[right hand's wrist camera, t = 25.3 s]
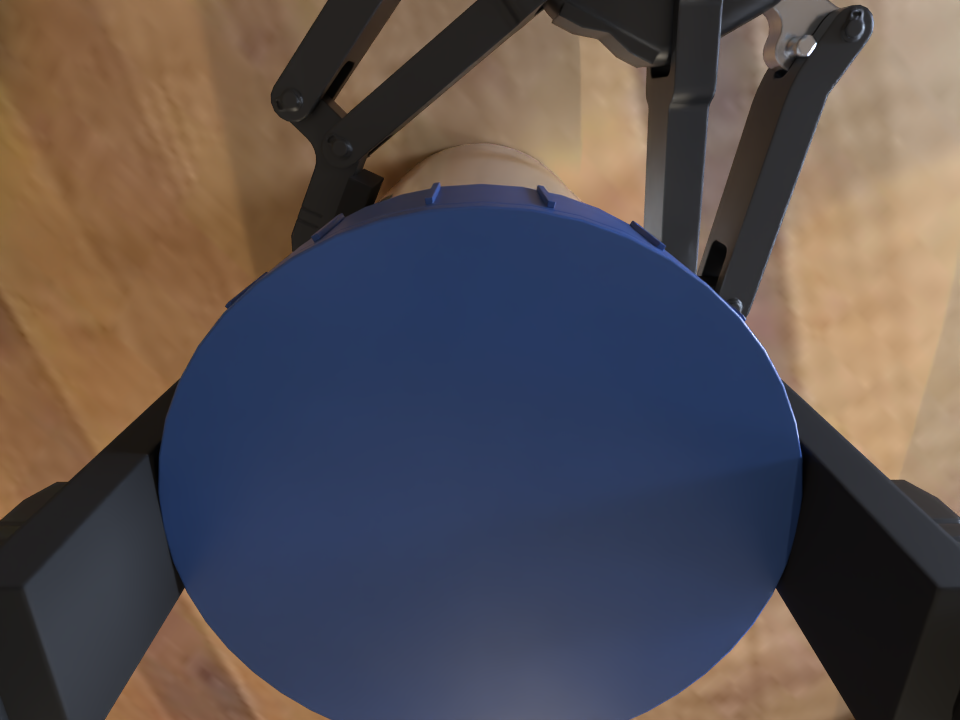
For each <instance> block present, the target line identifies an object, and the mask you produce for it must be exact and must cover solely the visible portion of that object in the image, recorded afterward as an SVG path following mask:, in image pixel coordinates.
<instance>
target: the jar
mask: <svg viewBox="0 0 960 720" xmlns="http://www.w3.org/2000/svg"><path fill="white" fill-rule="evenodd" d="M437 182H440V186H455V185H471V184H491V185H505V186H518V187H526V188H531V189H535V190H537V185H541V186H544V187H545V189H546V190H547V191H548V192H549V193H554V194H559V195H563V196H566V197H568V198H571V199H574V200H577V201H579V202H582V201H581V200H580V199H579V198H578V197H577V196H576V195H575V194H574V193H573V192H572V191H571V190H570V189H569V188H568V187H567V186H566V185H565V184H564V183H563V182H562V181H561V180H560V179H559V178H558V177H557V176H556V175H555V174H554V173H553V172H552V171H551V170H549V169H548V168H547V167H546V166H545V165H543V164H542V163H541V162H539V161H538V160H536V159H534V158H533V157H531V156H530V155H528V154H525V153H523V152H521V151H519V150H516V149H513V148H510V147H506V146H503V145H496V144H489V143H471V144H464V145H458V146H454V147H451V148H447V149H444V150H442V151H440V152H437V153H435V154H433V155H431V156H429V157H428V158H426V159H424V160H423V161H421V162H420V163H418V164H417V165H416V166H415V167H414V168H412V169H411V170H410V171H409V172H408V173H407V174H406V175H405V176H404V177H403V178H402V179H401V180H400V181H399V182H398V183H397V184H396V185H395V186H393V187H392V188H391V189H390V190H389V191H388V192H387V193H386V194H385V195H384V196H383V197H382V198H381V199H380V200H379V201H378V202H381V201H384V200H387V199H390V198H393V197H396V196H399V195H402V194H406V193H411V192H416V191H421V190H426V189H431V187H432V185H433V183H437ZM378 202H377V203H378ZM582 203H583V202H582Z"/></svg>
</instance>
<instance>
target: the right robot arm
mask: <svg viewBox="0 0 960 720" xmlns="http://www.w3.org/2000/svg"><path fill="white" fill-rule="evenodd" d="M179 380H180V379H179ZM179 380H178V381H177V382H176V383H175V384H173V385H172V386H171V387H170V388H169V389H168V390H167V391H166V392H165V393H164V394H163V395H162V396H160V397H159V398H158V399H157V400H156V401H155V402H154V403H153V404H152V405H151V406H150V407H149V408H148V409H146V410H145V411H144V412H143V413H142V414H141V415H140V416H139V417H138V418H137V419H136V420H135V421H133V422H132V423H131V424H130V425H129V426H128V427H127V428H126V429H125V430H124V431H123V432H122V433H121V434H119V435H118V436H117V437H116V438H115V439H114V440H113V441H112V442H111V443H110V444H109V445H108V446H106V447H105V448H104V449H103V450H102V451H101V452H100V453H99V454H98V455H97V456H96V457H95V458H94V459H92V460H91V461H90V462H89V463H88V464H87V465H86V466H85V467H84V468H83V469H82V470H81V471H79V472H78V473H77V474H76V475H75V476H74V477H73V478H72V479H71V480H70V481H69V482H56V483H54V484H52V485H51V486H49V487H47V488H45V489H43V490H41V491H40V492H38V493H36V494H34V495H32V496H30V497H29V498H27V499H25V500H23V501H22V502H21V503H20V504H19V505H17V506H16V507H15V508H14V509H13V510H12V511H11V512H9V513H8V514H7V515H6V516H5V517H4V518H3V519H1V520H0V720H105V718H106V717H107V715H108V713H109V712H110V710H111V708H112V707H113V705H114V704H115V702H116V700H117V699H118V697H119V695H120V694H121V692H122V690H123V689H124V687H125V685H126V684H127V682H128V680H129V679H130V677H131V675H132V674H133V672H134V671H135V669H136V667H137V666H138V664H139V662H140V661H141V659H142V657H143V656H144V654H145V652H146V651H147V649H148V647H149V646H150V644H151V642H152V641H153V639H154V638H155V636H156V634H157V633H158V631H159V629H160V628H161V626H162V624H163V623H164V621H165V619H166V618H167V616H168V614H169V613H170V611H171V610H172V608H173V606H174V605H175V603H176V601H177V600H178V598H179V596H180V595H181V593H182V591H183V590H184V588H185V586H184V584H183V582H182V580H181V578H180V576H179V573H178V571H177V569H176V567H175V565H174V563H173V560H172V557H171V553H170V550H169V546H168V543H167V539H166V534H165V530H164V526H163V521H162V516H161V510H160V502H159V495H158V474H159V452H160V446H161V441H162V435H163V430H164V424H165V419H166V416H167V413H168V410H169V407H170V404H171V401H172V399H173V396H174V393H175V390H176V387H177V385H178V382H179ZM781 380H782V379H781ZM782 382H783V384H784V387H785V390H786V393H787V396H788V399H789V402H790V405H791V408H792V411H793V414H794V417H795V419H796V424H797V430H798V436H799V442H800V448H801V454H802V486H803V496H802V503H801V509H800V514H799V519H798V524H797V528H796V533H795V537H794V541H793V545H792V549H791V552H790V556H789V559H788V562H787V565H786V567H785V569H784V571H783V573H782V575H781V578H780V580H779V582H778V584H777V586H776V589H777V591H778V592H779V594H780V596H781V597H782V599H783V601H784V602H785V604H786V606H787V607H788V609H789V610H790V612H791V614H792V615H793V617H794V619H795V620H796V622H797V624H798V625H799V627H800V629H801V630H802V632H803V634H804V635H805V637H806V639H807V640H808V642H809V643H810V645H811V647H812V648H813V650H814V652H815V653H816V655H817V657H818V658H819V660H820V662H821V663H822V665H823V667H824V668H825V670H826V672H827V673H828V675H829V676H830V678H831V680H832V681H833V683H834V685H835V686H836V688H837V690H838V691H839V693H840V695H841V696H842V698H843V700H844V701H845V703H846V704H847V706H848V708H849V709H850V711H851V713H852V714H853V716H854V718H855V719H856V720H960V517H959V516H958V515H957V514H955V513H954V512H953V511H952V510H951V509H950V508H949V507H947V506H946V505H945V504H944V503H943V502H942V501H941V500H939V499H938V498H937V497H935V496H933V495H931V494H929V493H927V492H926V491H924V490H922V489H920V488H918V487H916V486H915V485H913V484H911V483H909V482H907V481H905V480H890V479H889V478H887V477H886V476H885V475H884V474H883V473H882V472H881V471H880V470H879V469H878V468H877V467H876V466H874V465H873V464H872V463H871V462H870V461H869V460H868V459H867V458H866V457H865V456H864V455H863V454H862V453H860V452H859V451H858V450H857V449H856V448H855V447H854V446H853V445H852V444H851V443H850V442H849V441H847V440H846V439H845V438H844V437H843V436H842V435H841V434H840V433H839V432H838V431H837V430H836V429H835V428H833V427H832V426H831V425H830V424H829V423H828V422H827V421H826V420H825V419H824V418H823V417H822V416H820V415H819V414H818V413H817V412H816V411H815V410H814V409H813V408H812V407H811V406H810V405H809V404H808V403H806V402H805V401H804V400H803V399H802V398H801V397H800V396H799V395H798V394H797V393H796V392H795V391H793V390H792V389H791V388H790V387H789V386H788V385H787V384H786V383H785V382H784V381H783V380H782Z"/></svg>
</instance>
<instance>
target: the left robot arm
mask: <svg viewBox="0 0 960 720" xmlns="http://www.w3.org/2000/svg"><path fill="white" fill-rule="evenodd" d="M400 1H401V0H328V1H327V3H326V4H325V6H324V7H323V9H322V11H321V12H320V14H319V15H318V17H317V18H316V20H315V22H314V23H313V25H312V26H311V28H310V30H309V31H308V33H307V34H306V36H305V38H304V39H303V41H302V42H301V44H300V46H299V47H298V49H297V50H296V52H295V53H294V55H293V57H292V58H291V60H290V61H289V63H288V65H287V66H286V68H285V69H284V71H283V73H282V74H281V76H280V77H279V79H278V81H277V82H276V84H275V85H274V87H273V90H272V92H271V104H272V106H273V109H274V111H275V112H276V113H277V114H278V115H279V117H280V118H282V119H284V120H286V121H290V122H291V123H292V124H293V125H294V126H295V127H296V128H297V129H298V130H299V131H300V132H301V133H302V134H303V135H304V136H305V137H306V138H307V139H308V140H309V141H310V142H311V144H312V146H313V148H314V150H315V154H316V165H315V169H314V172H313V175H312V178H311V181H310V184H309V186H308V189H307V192H306V195H305V198H304V201H303V204H302V207H301V209H300V212H299V215H298V219H297V221H296V223H295V226H294V229H293V232H292V235H291V238H292V252H294V251H295V250H296V249H297V248H299V247H300V246H301V245H303V244H304V243H306V242H307V241H308V240H310V239H311V236H312V235H313V234H315V233H316V232H317V231H318V230H320V229H321V228H322V227H323V226H325V225H326V224H327V223H328V222H330V221H331V220H332V219H333V218H335V217H336V216H337V215H339V214H341V213H343V215H344V217H347V216H349V215H351V214H353V213H355V212H357V211H359V210H361V209H363V208H364V207H367V206H370V205H373V204H374V202H375V200H376V197H377V195H378V192H379V190H380V187H381V185H382V182H383V179H384V178H383V177H381V176H378V175H376V174H374V173H372V172H370V171H368V170H366V169H363V166H364V164H365V161H366V158H368V157H370V155H371V154H372V153H373V152H374V151H376V150H377V149H378V148H379V147H380V146H381V145H383V144H384V143H385V142H386V141H387V140H389V139H390V138H391V137H392V136H393V135H394V134H396V133H397V132H398V131H399V130H400V129H402V128H403V127H404V126H405V125H406V124H407V123H409V122H410V121H411V120H412V119H413V118H415V117H416V116H417V115H418V114H419V113H420V112H422V111H423V110H424V109H425V108H426V107H428V106H429V105H430V104H431V103H432V102H433V101H435V100H436V99H437V98H438V97H439V96H441V95H442V94H443V93H444V92H445V91H447V90H448V89H449V88H450V87H451V86H452V85H454V84H455V83H456V82H457V81H458V80H460V79H461V78H462V77H463V76H464V75H465V74H467V73H468V72H469V71H470V70H471V69H473V68H474V67H475V66H476V65H477V64H478V63H480V62H481V61H482V60H483V59H484V58H486V57H487V56H488V55H489V54H490V53H491V52H493V51H494V50H495V49H496V48H497V47H499V46H500V45H501V44H502V43H503V42H504V41H506V40H507V39H508V38H509V37H510V36H512V35H513V34H514V33H516V32H517V31H518V30H520V29H521V28H522V27H523V26H524V25H526V24H527V23H528V22H529V21H530V20H532V19H533V18H534V17H535V16H536V15H537V14H539V13H540V12H541V11H542V10H543V9H545V11H546V12H547V13H548V15H549V16H550V17H551V18H552V19H553V21H552V23H553V24H554V25H556V26H558V27H560V28H562V29H564V30H566V31H568V32H570V33H572V34H574V35H580V36H585V37H590V38H595V39H598V40H599V41H600V42H601V43H602V44H603V45H604V46H605V47H607V48H608V49H609V50H610V51H611V52H612V53H613V54H614V55H615V56H616V57H617V58H619V59H621V60H623V61H625V62H626V63H628V64H630V65H632V66H634V67H636V68H639V67H647V76H646V99H647V103H648V108H649V115H648V138H647V162H646V185H645V209H644V229H645V230H646V231H648V232H649V233H650V234H651V235H653V236H654V237H655V238H657V239H658V240H659V241H660V242H662V243H663V244H664V245H666V247H665V250H666V251H667V252H668V253H669V254H671V255H672V256H673V257H674V258H676V259H677V260H678V261H679V262H681V263H682V264H683V265H684V266H686V267H687V268H688V269H689V270H691V271H692V272H693V273H694V274H696V273H697V276H698V277H699V278H700V279H702V280H703V281H704V282H705V283H707V284H708V285H709V286H710V287H711V288H712V289H713V290H714V291H715V292H716V293H717V294H718V295H719V296H720V297H722V298H723V299H724V300H725V301H726V302H728V303H729V304H730V305H731V306H733V307H734V308H735V309H736V310H737V311H739V312H740V313H741V314H742V315H743V316H744V317H745V318H746V317H747V315H748V314H749V312H750V309H751V306H752V303H753V301H754V298H755V295H756V292H757V290H758V287H759V284H760V281H761V279H762V276H763V273H764V270H765V268H766V265H767V262H768V259H769V257H770V254H771V251H772V248H773V246H774V243H775V240H776V237H777V235H778V232H779V229H780V226H781V224H782V221H783V218H784V215H785V212H786V210H787V207H788V204H789V201H790V199H791V196H792V193H793V190H794V188H795V185H796V182H797V179H798V177H799V174H800V171H801V168H802V166H803V163H804V160H805V157H806V155H807V152H808V149H809V146H810V144H811V141H812V138H813V135H814V133H815V130H816V127H817V124H818V122H819V119H820V116H821V113H822V111H823V108H824V105H825V102H826V99H827V97H828V94H829V93H830V92H831V90H832V89H833V88H834V86H835V85H836V83H837V82H838V81H839V79H840V78H841V77H842V75H843V74H844V73H845V71H846V70H847V69H848V67H849V66H850V64H851V63H852V62H853V60H854V59H855V58H856V56H857V55H858V54H859V52H860V51H861V50H862V48H863V47H864V45H865V44H866V43H867V41H868V40H869V38H870V36H871V34H872V32H873V26H874V20H873V16H872V13H871V12H870V11H869V10H868V8H866V7H864V6H861V5H852V6H848V7H844V8H838V7H836V6H835V5H834V4H833V3H831V2H830V1H829V0H477V1H476V2H475V3H474V4H473V5H471V6H470V7H469V8H468V9H467V10H466V11H465V12H463V13H462V14H461V15H460V16H459V17H458V18H457V19H455V20H454V21H453V22H452V23H451V24H450V25H449V26H447V27H446V28H445V29H444V30H443V31H442V32H441V33H439V34H438V35H437V36H436V37H435V38H434V39H433V40H431V41H430V42H429V43H428V44H427V45H426V46H425V47H423V48H422V49H421V50H420V51H419V52H418V53H417V54H415V55H414V56H413V57H412V58H411V59H410V60H409V61H407V62H406V63H405V64H404V65H403V66H402V67H401V68H399V69H398V70H397V71H396V72H395V73H394V74H392V75H391V76H390V77H389V78H388V79H387V80H386V81H384V82H383V83H382V84H381V85H380V86H379V87H378V88H376V89H375V90H374V91H373V92H372V93H371V94H370V95H368V96H367V97H366V98H365V99H364V100H363V101H362V102H360V103H359V104H358V105H357V106H356V107H355V108H354V109H352V110H351V111H350V112H349V113H348V114H347V113H346V112H345V111H344V110H343V109H342V108H341V107H340V106H338V105H337V104H336V103H335V102H334V100H335V98H336V97H337V95H338V94H339V92H340V91H341V89H342V88H343V86H344V85H345V83H346V82H347V80H348V79H349V77H350V76H351V74H352V73H353V71H354V70H355V68H356V67H357V65H358V64H359V62H360V61H361V59H362V58H363V56H364V55H365V53H366V52H367V50H368V49H369V47H370V46H371V44H372V43H373V41H374V40H375V38H376V37H377V35H378V34H379V32H380V31H381V29H382V28H383V26H384V25H385V23H386V22H387V20H388V19H389V17H390V16H391V14H392V13H393V11H394V10H395V8H396V7H397V5H398V4H399V2H400ZM761 14H763V15H764V16H765V17H766V18H767V20H768V23H769V36H768V38H767V41H766V43H765V46H764V49H763V58H764V61H765V63H766V65H767V66H768V67H769V69H768V70H767V72H766V73H765V75H764V77H763V79H762V81H761V83H760V85H759V87H758V89H757V92H756V95H755V97H754V100H753V102H752V105H751V108H750V111H749V115H748V118H747V121H746V124H745V127H744V130H743V133H742V136H741V139H740V142H739V145H738V149H737V152H736V155H735V158H734V161H733V164H732V167H731V170H730V173H729V176H728V179H727V183H726V186H725V189H724V192H723V195H722V198H721V201H720V204H719V207H718V210H717V213H716V217H715V220H714V223H713V226H712V229H711V232H710V235H709V238H708V241H707V244H706V248H705V251H704V254H703V257H702V260H701V263H700V266H699V269H698V272H697V259H698V246H699V233H700V219H701V206H702V193H703V179H704V166H705V153H706V140H707V126H708V113H709V106H710V103H711V101H712V99H713V97H714V94H715V91H716V83H717V71H718V58H719V45H720V38H721V37H723V36H725V35H727V34H728V33H730V32H732V31H733V30H735V29H737V28H739V27H740V26H742V25H744V24H746V23H747V22H749V21H751V20H752V19H754V18H756V17H758V16H759V15H761Z"/></svg>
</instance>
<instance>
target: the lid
mask: <svg viewBox="0 0 960 720" xmlns="http://www.w3.org/2000/svg"><path fill="white" fill-rule="evenodd" d="M665 247H666V245H664V244H663V243H662V242H660V241H659V240H658V239H657V238H655V237H654V236H653V235H651V234H650V233H649V232H648V231H646V230H645V229H644V228H642V227H641V226H640V225H639V224H637V223H636V222H634V221H632V222H631V224H630V225H629V224H627V223H625V222H623V221H622V220H620V219H618V218H616V217H614V216H612V215H610V214H608V213H606V212H604V211H603V210H601V209H599V208H596V207H593V206H591V205H588V204H585V203H582V202H579V201H577V200H574V199H571V198H568V197H566V196H563V195H559V194H554V193H549V192H548V191H547V190H546V189H545V187H544V186H541V185H537V190H535V189H531V188H526V187H518V186H505V185H491V184H471V185H455V186H440V182H437V183H433V185H432V187H431V189H426V190H421V191H416V192H411V193H406V194H402V195H399V196H396V197H393V198H390V199H387V200H384V201H381V202H378V203H376V204H373V205H370V206H367V207H364V208H363V209H361V210H359V211H357V212H355V213H353V214H351V215H349V216H347V217H344V215H343V213H341V214H339V215H337V216H336V217H335V218H333V219H332V220H331V221H330V222H328V223H327V224H326V225H325V226H323V227H322V228H321V229H320V230H318V231H317V232H316V233H315V234H313V235H312V236H311V239H310V240H308V241H307V242H306V243H304V244H303V245H301V246H300V247H299V248H297V249H296V250H295V251H294V252H293V253H291V254H290V255H289V256H288V257H286V258H285V259H284V260H283V261H281V262H280V263H279V264H278V265H276V266H275V267H274V268H273V269H272V270H270V271H269V272H265V273H264V274H263V275H262V276H260V277H259V278H258V279H257V280H255V281H254V282H253V283H252V284H250V285H249V286H248V287H247V288H245V289H244V290H243V291H242V292H240V293H239V294H238V295H237V296H235V297H234V298H233V299H232V300H230V301H229V302H228V303H227V304H226V306H225V307H226V308H227V310H226V311H225V312H224V313H223V314H222V316H221V317H220V318H219V319H218V321H217V322H216V323H215V325H214V326H213V327H212V329H211V330H210V331H209V332H208V334H207V335H206V336H205V338H204V339H203V340H202V341H201V343H200V344H199V345H198V347H197V349H196V351H195V352H194V354H193V356H192V358H191V360H190V362H189V363H188V365H187V367H186V369H185V371H184V373H183V374H182V376H181V378H180V380H179V382H178V385H177V387H176V390H175V393H174V396H173V399H172V401H171V404H170V407H169V410H168V413H167V416H166V419H165V424H164V430H163V435H162V441H161V446H160V452H159V474H158V495H159V502H160V510H161V516H162V521H163V526H164V530H165V534H166V539H167V543H168V546H169V550H170V553H171V557H172V560H173V563H174V565H175V567H176V569H177V571H178V573H179V576H180V578H181V580H182V582H183V584H184V586H185V589H186V591H187V593H188V594H189V596H190V598H191V599H192V601H193V602H194V604H195V605H196V607H197V609H198V610H199V612H200V613H201V615H202V616H203V618H204V620H205V621H206V623H207V624H208V625H209V626H210V627H211V629H212V630H213V631H214V632H215V633H216V635H217V636H218V637H219V638H220V639H221V641H222V642H223V643H224V644H225V645H226V647H227V648H228V649H229V650H230V651H231V652H232V653H234V654H235V655H236V656H237V657H238V658H239V659H240V660H241V661H242V662H243V663H244V664H245V665H246V666H247V667H248V668H249V669H251V670H252V671H253V672H254V673H255V674H257V675H258V676H259V677H261V678H262V679H263V680H265V681H266V682H267V683H269V684H270V685H271V686H273V687H274V688H275V689H277V690H278V691H279V692H281V693H282V694H284V695H286V696H287V697H289V698H291V699H293V700H294V701H296V702H298V703H299V704H301V705H303V706H304V707H306V708H308V709H309V710H311V711H314V712H316V713H318V714H320V715H322V716H324V717H327V718H329V719H331V720H630V719H632V718H634V717H637V716H639V715H641V714H643V713H645V712H648V711H649V710H651V709H653V708H655V707H656V706H658V705H660V704H661V703H663V702H665V701H667V700H668V699H670V698H672V697H674V696H675V695H677V694H679V693H680V692H681V691H683V690H684V689H685V688H687V687H688V686H689V685H691V684H692V683H694V682H695V681H696V680H698V679H699V678H700V677H702V676H703V675H705V674H706V673H707V672H708V671H709V670H710V669H711V668H712V667H713V666H714V665H716V664H717V663H718V662H719V661H720V660H721V659H722V658H723V657H724V656H725V655H726V654H728V653H729V652H730V651H731V650H732V648H733V647H734V646H735V645H736V644H737V643H738V641H739V640H740V639H741V638H742V637H743V636H744V634H745V633H746V632H747V631H748V630H749V629H750V627H751V626H752V625H753V624H754V622H755V621H756V619H757V618H758V616H759V615H760V613H761V611H762V610H763V608H764V607H765V605H766V604H767V602H768V601H769V599H770V598H771V596H772V594H773V592H774V590H775V588H776V586H777V584H778V582H779V580H780V578H781V575H782V573H783V571H784V569H785V567H786V565H787V562H788V559H789V556H790V552H791V549H792V545H793V541H794V537H795V533H796V528H797V524H798V519H799V514H800V509H801V503H802V496H803V486H802V454H801V448H800V442H799V436H798V430H797V424H796V419H795V417H794V414H793V411H792V408H791V405H790V402H789V399H788V396H787V393H786V390H785V387H784V384H783V382H782V380H781V379H780V377H779V375H778V373H777V371H776V369H775V367H774V365H773V363H772V362H771V360H770V358H769V356H768V354H767V352H766V350H765V349H764V347H763V346H762V345H761V343H760V342H759V341H758V339H757V338H756V337H755V335H754V334H753V333H752V331H751V330H750V329H749V327H748V326H747V325H746V323H745V322H744V321H745V320H746V318H745V317H744V316H743V315H742V314H741V313H740V312H739V311H737V310H736V309H735V308H734V307H733V306H731V305H730V304H729V303H728V302H726V301H725V300H724V299H723V298H722V297H720V296H719V295H718V294H717V293H716V292H715V291H714V290H713V289H712V288H711V287H710V286H709V285H708V284H707V283H705V282H704V281H703V280H702V279H700V278H699V277H698V276H697V275H696V274H694V273H693V272H692V271H691V270H689V269H688V268H687V267H686V266H684V265H683V264H682V263H681V262H679V261H678V260H677V259H676V258H674V257H673V256H672V255H671V254H669V253H668V252H667V251H666V250H665Z"/></svg>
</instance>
